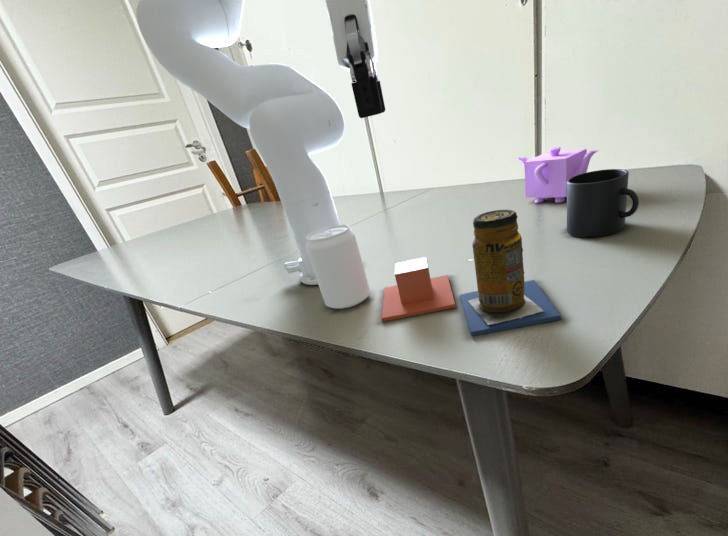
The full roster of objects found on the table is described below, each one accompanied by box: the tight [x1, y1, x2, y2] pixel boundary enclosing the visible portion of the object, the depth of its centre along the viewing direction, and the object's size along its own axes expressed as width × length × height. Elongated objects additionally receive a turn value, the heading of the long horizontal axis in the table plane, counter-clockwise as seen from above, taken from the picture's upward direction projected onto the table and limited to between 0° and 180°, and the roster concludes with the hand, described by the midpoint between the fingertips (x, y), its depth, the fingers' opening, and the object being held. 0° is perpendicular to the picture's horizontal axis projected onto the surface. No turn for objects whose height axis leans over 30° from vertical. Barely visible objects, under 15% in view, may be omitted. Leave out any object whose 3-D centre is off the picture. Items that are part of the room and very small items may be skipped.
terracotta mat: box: [381, 274, 457, 322], centre depth 64 cm, size 11×12×1 cm
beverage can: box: [306, 224, 371, 310], centre depth 67 cm, size 8×8×12 cm
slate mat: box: [459, 279, 562, 337], centre depth 55 cm, size 11×12×1 cm
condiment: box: [469, 209, 543, 325], centre depth 51 cm, size 7×8×12 cm
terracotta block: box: [394, 256, 434, 305], centre depth 62 cm, size 5×5×5 cm
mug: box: [566, 168, 640, 238], centre depth 70 cm, size 9×12×9 cm
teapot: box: [516, 146, 600, 204], centre depth 94 cm, size 15×13×11 cm
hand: (373, 114), depth 58 cm, fingers open, 9 cm apart
